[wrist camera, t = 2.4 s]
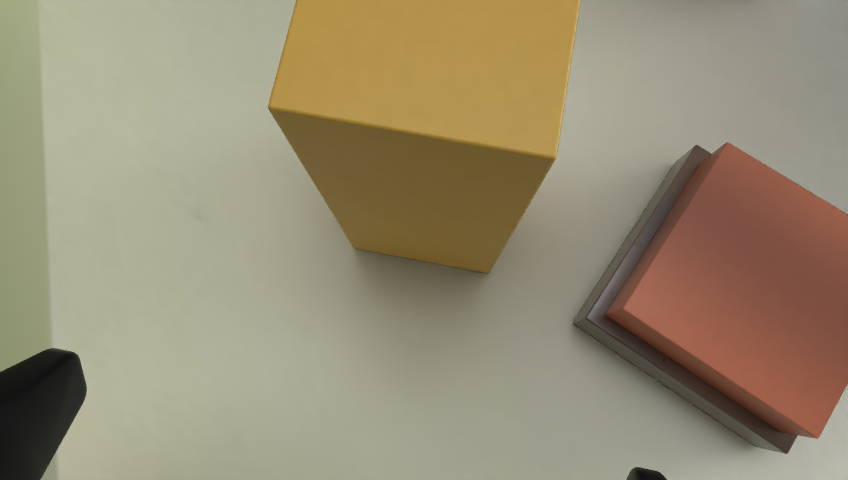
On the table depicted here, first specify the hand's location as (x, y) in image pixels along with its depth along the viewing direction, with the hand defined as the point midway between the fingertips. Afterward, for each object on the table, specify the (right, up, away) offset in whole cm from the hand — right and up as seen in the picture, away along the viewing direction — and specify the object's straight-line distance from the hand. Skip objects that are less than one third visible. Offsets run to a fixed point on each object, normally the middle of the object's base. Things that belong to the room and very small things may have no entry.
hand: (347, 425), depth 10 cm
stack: (+13, +1, +14) cm, 19 cm away
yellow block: (+2, +5, +15) cm, 16 cm away
